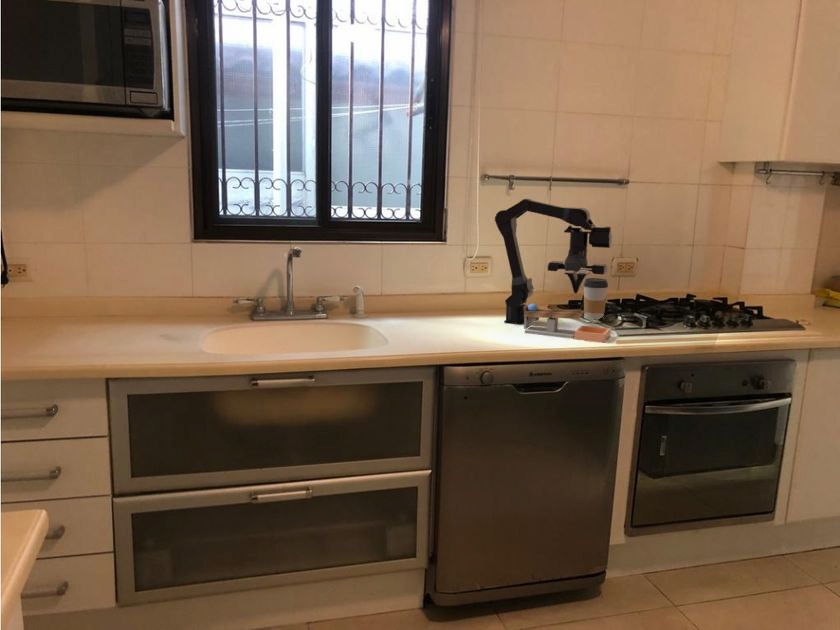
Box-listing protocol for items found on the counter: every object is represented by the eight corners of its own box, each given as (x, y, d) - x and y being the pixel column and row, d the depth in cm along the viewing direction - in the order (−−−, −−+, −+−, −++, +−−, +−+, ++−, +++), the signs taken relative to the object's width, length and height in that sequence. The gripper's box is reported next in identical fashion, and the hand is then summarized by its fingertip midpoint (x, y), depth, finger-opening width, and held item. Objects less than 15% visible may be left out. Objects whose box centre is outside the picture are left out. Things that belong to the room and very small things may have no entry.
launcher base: (522, 332, 215) (522, 317, 214) (529, 327, 222) (530, 313, 221) (573, 338, 207) (573, 323, 206) (579, 333, 214) (580, 318, 213)
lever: (523, 321, 215) (523, 307, 215) (533, 316, 224) (533, 302, 223) (578, 323, 207) (578, 308, 206) (586, 317, 216) (586, 303, 215)
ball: (526, 314, 216) (525, 304, 215) (529, 312, 218) (528, 303, 218) (536, 313, 214) (535, 304, 214) (539, 312, 217) (538, 302, 216)
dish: (574, 339, 207) (574, 331, 206) (581, 333, 215) (582, 325, 214) (604, 342, 202) (604, 334, 202) (610, 336, 210) (610, 328, 210)
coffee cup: (606, 324, 227) (609, 282, 224) (581, 323, 229) (584, 281, 225) (604, 319, 235) (607, 278, 232) (581, 318, 237) (583, 277, 233)
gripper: (543, 247, 214) (541, 294, 217) (601, 250, 205) (598, 299, 209) (553, 244, 223) (551, 289, 227) (609, 247, 215) (605, 294, 218)
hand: (575, 293), depth 220 cm, fingers closed
